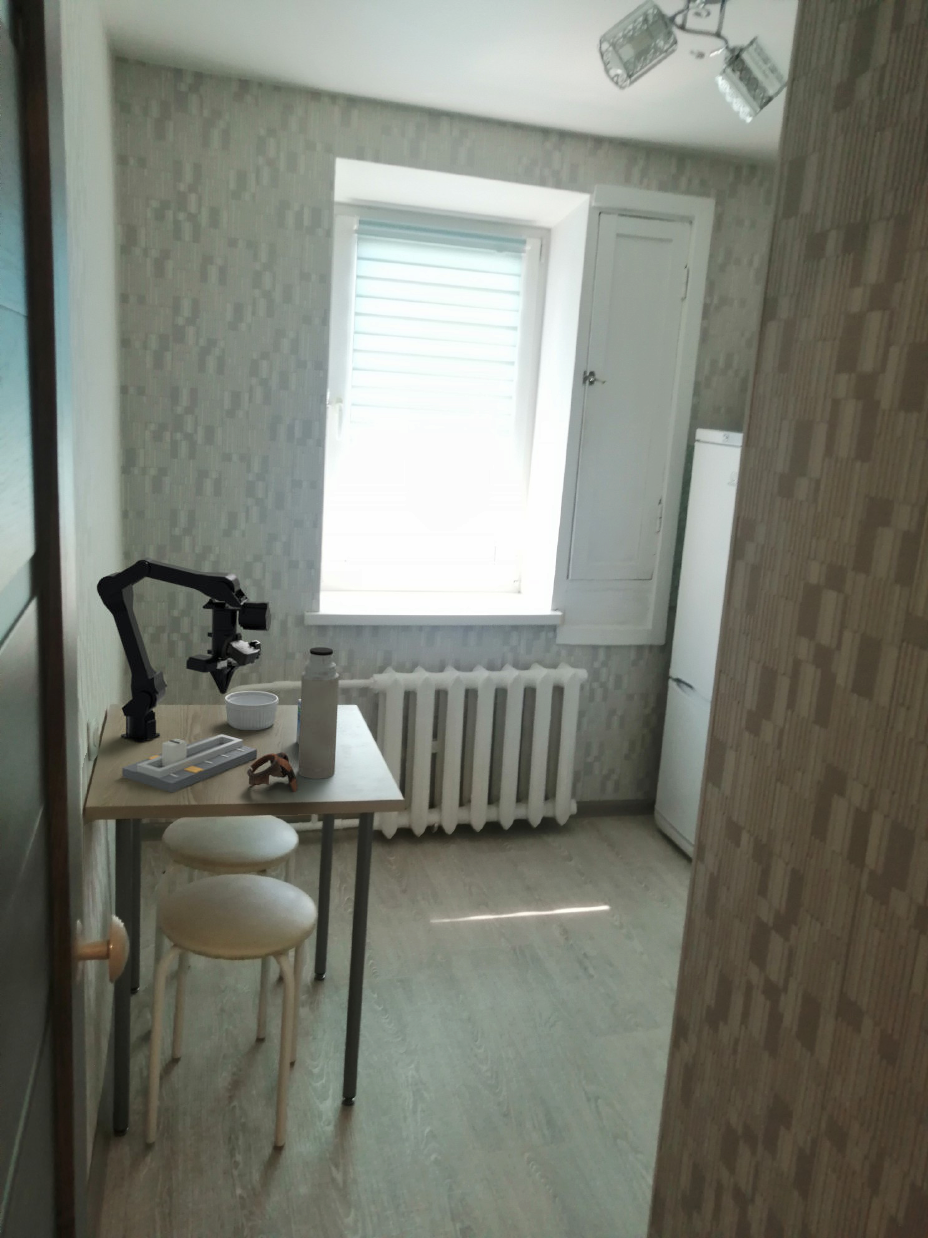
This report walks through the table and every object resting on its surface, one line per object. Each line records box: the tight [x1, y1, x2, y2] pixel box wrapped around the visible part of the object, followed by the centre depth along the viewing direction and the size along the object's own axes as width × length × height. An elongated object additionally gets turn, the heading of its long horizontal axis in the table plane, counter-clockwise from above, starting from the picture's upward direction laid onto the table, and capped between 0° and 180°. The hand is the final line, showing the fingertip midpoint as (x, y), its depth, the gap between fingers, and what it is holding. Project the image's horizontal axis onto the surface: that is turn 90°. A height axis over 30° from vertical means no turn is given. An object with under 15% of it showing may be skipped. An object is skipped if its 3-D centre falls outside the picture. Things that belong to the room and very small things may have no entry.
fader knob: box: [161, 738, 188, 766], centre depth 195 cm, size 3×4×5 cm
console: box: [121, 733, 258, 793], centre depth 200 cm, size 14×26×4 cm, turn 152°
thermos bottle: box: [297, 646, 340, 780], centre depth 200 cm, size 8×8×28 cm
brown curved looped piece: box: [246, 751, 299, 793], centre depth 193 cm, size 12×10×8 cm
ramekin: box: [224, 690, 279, 731], centre depth 231 cm, size 13×13×7 cm
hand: (223, 693), depth 215 cm, fingers closed
